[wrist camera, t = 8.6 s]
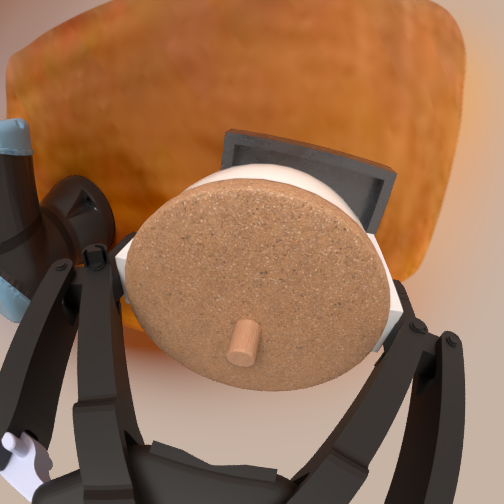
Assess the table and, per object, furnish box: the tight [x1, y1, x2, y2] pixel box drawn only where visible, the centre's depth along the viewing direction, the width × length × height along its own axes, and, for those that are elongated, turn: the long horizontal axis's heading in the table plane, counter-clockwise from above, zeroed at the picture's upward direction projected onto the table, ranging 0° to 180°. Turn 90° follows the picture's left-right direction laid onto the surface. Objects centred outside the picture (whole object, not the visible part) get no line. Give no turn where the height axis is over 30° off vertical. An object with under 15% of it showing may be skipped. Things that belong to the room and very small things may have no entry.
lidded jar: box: [125, 164, 390, 391], centre depth 13 cm, size 11×11×9 cm
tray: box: [221, 129, 397, 236], centre depth 33 cm, size 19×19×3 cm
